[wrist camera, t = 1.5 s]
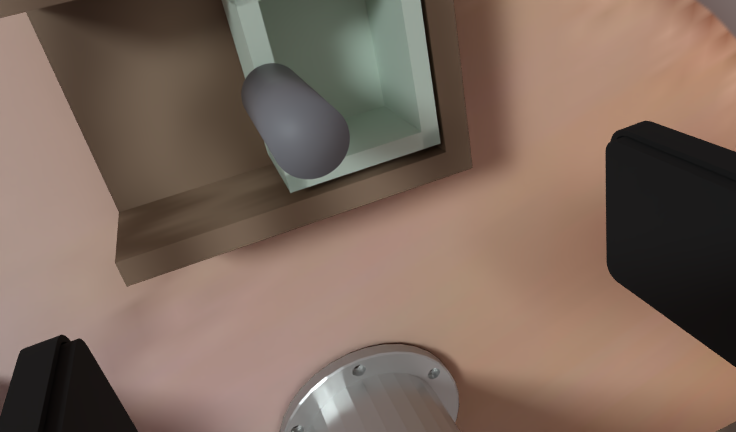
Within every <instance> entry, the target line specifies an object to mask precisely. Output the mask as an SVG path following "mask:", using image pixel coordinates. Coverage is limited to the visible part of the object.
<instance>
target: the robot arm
mask: <svg viewBox="0 0 736 432" xmlns="http://www.w3.org/2000/svg"><path fill="white" fill-rule="evenodd" d="M606 242H607V267H608V270H609V272H610V274H611V275H612V277H613V278H614V279H615V280H616V281H617V282H618V283H620V284H621V285H622V286H624V287H625V288H627V289H628V290H629V291H631V292H632V293H634V294H635V295H636V296H638V297H639V298H641V299H642V300H643V301H645V302H646V303H647V304H649V305H650V306H652V307H653V308H654V309H656V310H657V311H659V312H660V313H661V314H663V315H664V316H665V317H667V318H668V319H670V320H671V321H672V322H674V323H675V324H677V325H678V326H679V327H681V328H682V329H683V330H685V331H686V332H688V333H689V334H690V335H692V336H693V337H695V338H696V339H697V340H699V341H700V342H701V343H703V344H704V345H706V346H707V347H708V348H710V349H711V350H713V351H714V352H715V353H717V354H718V355H720V356H721V357H722V358H724V359H725V360H726V361H728V362H729V363H731V364H732V365H733V366H735V367H736V152H734V151H732V150H729V149H726V148H723V147H720V146H718V145H715V144H712V143H709V142H707V141H704V140H701V139H698V138H695V137H693V136H690V135H687V134H684V133H681V132H679V131H676V130H673V129H670V128H667V127H665V126H662V125H659V124H656V123H654V122H650V121H643V122H640V123H637V124H634V125H632V126H629V127H626V128H624V129H621V130H618V131H616V132H615V133H614V134H613V136H612V138H611V142H609V143H608V145H607V147H606ZM458 409H459V393H458V389H457V386H456V383H455V380H454V379H453V377H452V376H451V374H450V372H449V371H448V369H447V368H446V367H445V366H444V364H443V363H442V362H441V361H440V360H439V359H438V358H437V357H435V356H434V355H433V354H431V353H430V352H428V351H426V350H423V349H420V348H418V347H415V346H409V345H403V344H383V345H378V346H373V347H367V348H364V349H361V350H358V351H355V352H352V353H350V354H347V355H345V356H343V357H341V358H340V359H338V360H336V361H334V362H332V363H330V364H329V365H327V366H326V367H325V368H323V369H322V370H321V371H319V372H318V373H316V374H315V375H314V376H313V377H312V378H311V379H310V380H309V381H308V382H307V383H306V384H305V385H304V386H303V387H302V388H301V389H300V390H299V392H298V393H297V394H296V396H295V397H294V399H293V400H292V401H291V403H290V405H289V407H288V409H287V411H286V413H285V415H284V417H283V421H282V425H281V429H280V432H461V431H460V430H459V428H458V427H457V425H456V424H455V422H456V419H457V414H458ZM0 432H138V431H137V429H136V427H135V426H134V424H133V422H132V421H131V419H130V417H129V415H128V414H127V412H126V410H125V409H124V407H123V405H122V404H121V402H120V400H119V399H118V397H117V395H116V394H115V392H114V390H113V388H112V387H111V385H110V383H109V382H108V380H107V378H106V377H105V375H104V373H103V372H102V370H101V368H100V367H99V365H98V363H97V361H96V360H95V358H94V356H93V355H92V353H91V351H90V350H89V348H88V346H87V345H86V343H85V342H84V341H83V340H82V339H76V340H74V341H70V340H69V339H68V338H67V337H66V336H64V335H60V336H57V337H54V338H51V339H49V340H46V341H43V342H40V343H38V344H35V345H32V346H30V347H27V348H24V349H22V350H21V351H20V353H19V356H18V359H17V362H16V366H15V369H14V372H13V376H12V379H11V383H10V386H9V389H8V393H7V396H6V399H5V403H4V406H3V409H2V413H1V416H0ZM716 432H736V422H734V423H732V424H730V425H728V426H726V427H724V428H722V429H720V430H718V431H716Z"/></svg>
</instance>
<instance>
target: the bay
mask: <svg viewBox="0 0 736 432" xmlns="http://www.w3.org/2000/svg"><path fill="white" fill-rule="evenodd" d="M420 1H421V8H422V15H423V22H424V29H425V36H426V44H427V51H428V58H429V65H430V72H431V79H432V86H433V93H434V100H435V107H436V115H437V122H438V129H439V136H440V144H437V145H434V146H431V147H428V148H425V149H422V150H419V151H416V152H413V153H410V154H407V155H404V156H401V157H398V158H395V159H392V160H389V161H386V162H383V163H380V164H377V165H374V166H371V167H368V168H365V169H362V170H359V171H356V172H352V173H349V174H346V175H343V176H340V177H337V178H334V179H331V180H328V181H325V182H322V183H319V184H316V185H313V186H310V187H307V188H304V189H301V190H298V191H295V192H292V193H290V191H289V189H288V188H287V186H286V184H285V183H284V181H283V179H282V177H281V176H280V174H279V172H278V170H277V169H276V167H275V165H274V164H273V162H272V160H271V158H270V157H269V155H268V153H267V149H266V146H265V143H264V140H263V138H262V137H261V135H260V133H259V132H258V130H257V128H256V127H255V125H254V123H253V122H252V120H251V118H250V117H249V115H248V113H247V112H246V110H245V108H244V106H243V103H242V98H241V90H242V86H243V83H244V81H245V76H244V73H243V70H242V66H241V63H240V60H239V56H238V53H237V50H236V46H235V43H234V40H233V36H232V33H231V30H230V27H229V23H228V20H227V17H226V13H225V10H224V7H223V3H222V0H0V18H2V17H6V16H10V15H15V14H19V13H23V12H26V13H27V15H28V17H29V19H30V21H31V24H32V26H33V28H34V30H35V32H36V34H37V36H38V39H39V41H40V43H41V45H42V47H43V49H44V52H45V54H46V56H47V58H48V60H49V62H50V65H51V67H52V69H53V71H54V73H55V75H56V77H57V80H58V82H59V84H60V86H61V88H62V90H63V93H64V95H65V97H66V99H67V101H68V103H69V105H70V108H71V110H72V112H73V114H74V116H75V118H76V121H77V123H78V125H79V127H80V129H81V131H82V133H83V136H84V138H85V140H86V142H87V144H88V146H89V149H90V151H91V153H92V155H93V157H94V159H95V162H96V164H97V166H98V168H99V170H100V172H101V174H102V177H103V179H104V181H105V183H106V185H107V187H108V190H109V192H110V194H111V196H112V198H113V200H114V202H115V205H116V207H117V209H118V211H119V220H118V233H117V245H116V258H115V264H116V266H117V268H118V270H119V272H120V274H121V276H122V278H123V280H124V282H125V284H126V286H130V285H133V284H136V283H139V282H142V281H145V280H148V279H151V278H153V277H156V276H159V275H162V274H165V273H168V272H171V271H174V270H177V269H180V268H183V267H185V266H188V265H191V264H194V263H197V262H200V261H203V260H206V259H209V258H212V257H215V256H217V255H220V254H223V253H226V252H229V251H232V250H235V249H238V248H241V247H244V246H247V245H249V244H252V243H255V242H258V241H261V240H264V239H267V238H270V237H273V236H276V235H279V234H281V233H284V232H287V231H290V230H293V229H296V228H299V227H302V226H305V225H308V224H311V223H313V222H316V221H319V220H322V219H325V218H328V217H331V216H334V215H337V214H340V213H343V212H345V211H348V210H351V209H354V208H357V207H360V206H363V205H366V204H369V203H372V202H375V201H377V200H380V199H383V198H386V197H389V196H392V195H395V194H398V193H401V192H404V191H407V190H409V189H412V188H415V187H418V186H421V185H424V184H427V183H430V182H433V181H436V180H439V179H441V178H444V177H447V176H450V175H453V174H456V173H459V172H462V171H465V170H468V169H471V168H472V159H471V150H470V142H469V133H468V124H467V115H466V106H465V98H464V89H463V80H462V71H461V63H460V54H459V45H458V36H457V28H456V19H455V10H454V1H453V0H420Z"/></svg>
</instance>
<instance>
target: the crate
mask: <svg viewBox="0 0 736 432" xmlns="http://www.w3.org/2000/svg"><path fill="white" fill-rule="evenodd" d="M222 3H223V7H224V10H225V13H226V17H227V20H228V23H229V27H230V30H231V33H232V36H233V40H234V43H235V46H236V50H237V53H238V56H239V60H240V63H241V66H242V70H243V73H244V76H245V81H244V83H243V86H242V90H241V98H242V103H243V106H244V108H245V110H246V112H247V113H248V115H249V117H250V118H251V120H252V122H253V123H254V125H255V127H256V128H257V130H258V132H259V133H260V135H261V137H262V138H263V140H264V143H265V146H266V149H267V153H268V155H269V157H270V158H271V160H272V162H273V164H274V165H275V167H276V169H277V170H278V172H279V174H280V176H281V177H282V179H283V181H284V183H285V184H286V186H287V188H288V189H289V191H290V193H292V192H295V191H298V190H301V189H304V188H307V187H310V186H313V185H316V184H319V183H322V182H325V181H328V180H331V179H334V178H337V177H340V176H343V175H346V174H349V173H352V172H356V171H359V170H362V169H365V168H368V167H371V166H374V165H377V164H380V163H383V162H386V161H389V160H392V159H395V158H398V157H401V156H404V155H407V154H410V153H413V152H416V151H419V150H422V149H425V148H428V147H431V146H434V145H437V144H440V136H439V129H438V122H437V115H436V107H435V100H434V93H433V86H432V79H431V72H430V65H429V58H428V51H427V44H426V36H425V29H424V22H423V15H422V8H421V1H420V0H222Z"/></svg>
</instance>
